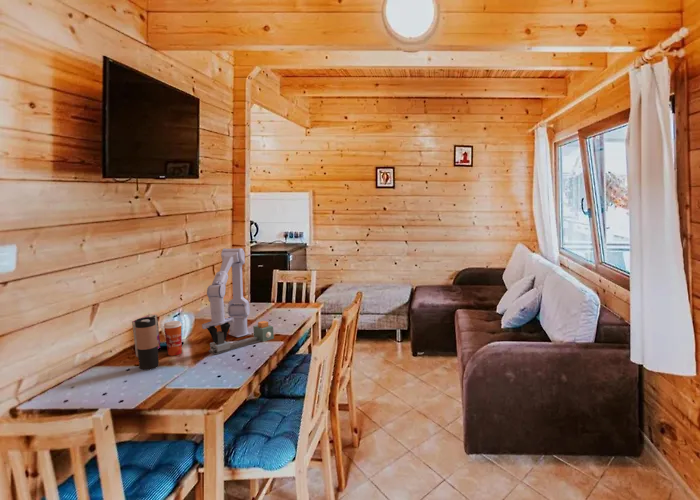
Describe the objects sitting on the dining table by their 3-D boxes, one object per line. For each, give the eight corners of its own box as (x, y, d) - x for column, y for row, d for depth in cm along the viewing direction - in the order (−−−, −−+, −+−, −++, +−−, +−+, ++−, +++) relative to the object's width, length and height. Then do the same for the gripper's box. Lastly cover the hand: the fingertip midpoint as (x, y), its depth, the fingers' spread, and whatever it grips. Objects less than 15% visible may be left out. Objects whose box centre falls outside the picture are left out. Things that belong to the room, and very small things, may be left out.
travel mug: (143, 364, 181) (139, 317, 178) (162, 362, 181) (158, 316, 179) (135, 371, 173) (131, 322, 171) (155, 369, 174) (151, 321, 171)
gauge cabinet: (254, 338, 210) (253, 326, 210) (264, 335, 215) (263, 323, 214) (263, 341, 205) (262, 329, 204) (274, 338, 209) (273, 326, 208)
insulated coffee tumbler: (151, 348, 200) (148, 314, 198) (161, 349, 199) (158, 314, 197) (134, 357, 189) (131, 321, 187) (144, 357, 188) (141, 321, 186)
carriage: (210, 348, 194) (209, 332, 193) (222, 345, 198) (221, 329, 197) (217, 351, 189) (216, 335, 188) (230, 348, 193) (229, 332, 192)
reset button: (258, 329, 209) (257, 322, 209) (264, 327, 212) (264, 320, 211) (262, 330, 207) (261, 323, 206) (268, 329, 209) (268, 322, 209)
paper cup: (166, 357, 187) (163, 326, 186) (164, 352, 194) (162, 322, 193) (185, 354, 191) (183, 323, 189) (183, 349, 198) (181, 319, 196)
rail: (208, 351, 193) (208, 347, 193) (253, 339, 209) (253, 335, 209) (215, 354, 189) (214, 350, 189) (260, 341, 205) (260, 337, 205)
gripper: (206, 316, 184) (208, 347, 185) (236, 309, 194) (238, 338, 195) (198, 313, 189) (201, 343, 190) (228, 307, 199) (230, 335, 200)
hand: (219, 341), depth 193 cm, fingers open, 4 cm apart
